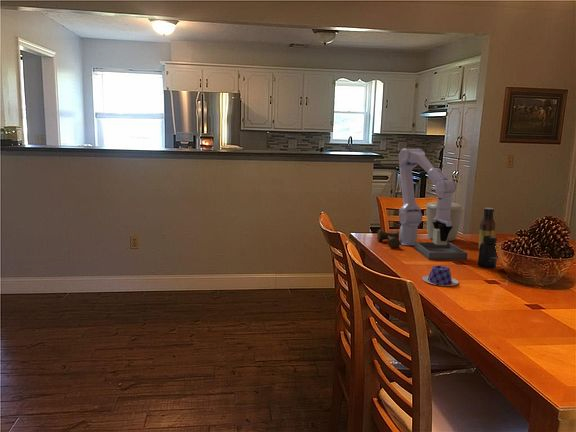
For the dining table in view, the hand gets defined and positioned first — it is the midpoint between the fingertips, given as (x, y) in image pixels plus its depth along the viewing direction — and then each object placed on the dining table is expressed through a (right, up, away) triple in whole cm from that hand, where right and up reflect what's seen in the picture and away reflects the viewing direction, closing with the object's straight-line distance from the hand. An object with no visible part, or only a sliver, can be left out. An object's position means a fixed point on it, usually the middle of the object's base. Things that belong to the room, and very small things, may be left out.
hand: (441, 239), depth 194 cm
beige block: (-1, -2, 0) cm, 2 cm away
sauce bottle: (+22, -6, +6) cm, 23 cm away
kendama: (-18, -3, +18) cm, 26 cm away
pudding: (-12, -13, -36) cm, 40 cm away
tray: (0, -6, +1) cm, 6 cm away
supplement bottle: (+13, -10, -16) cm, 23 cm away
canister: (+10, -2, +30) cm, 32 cm away
